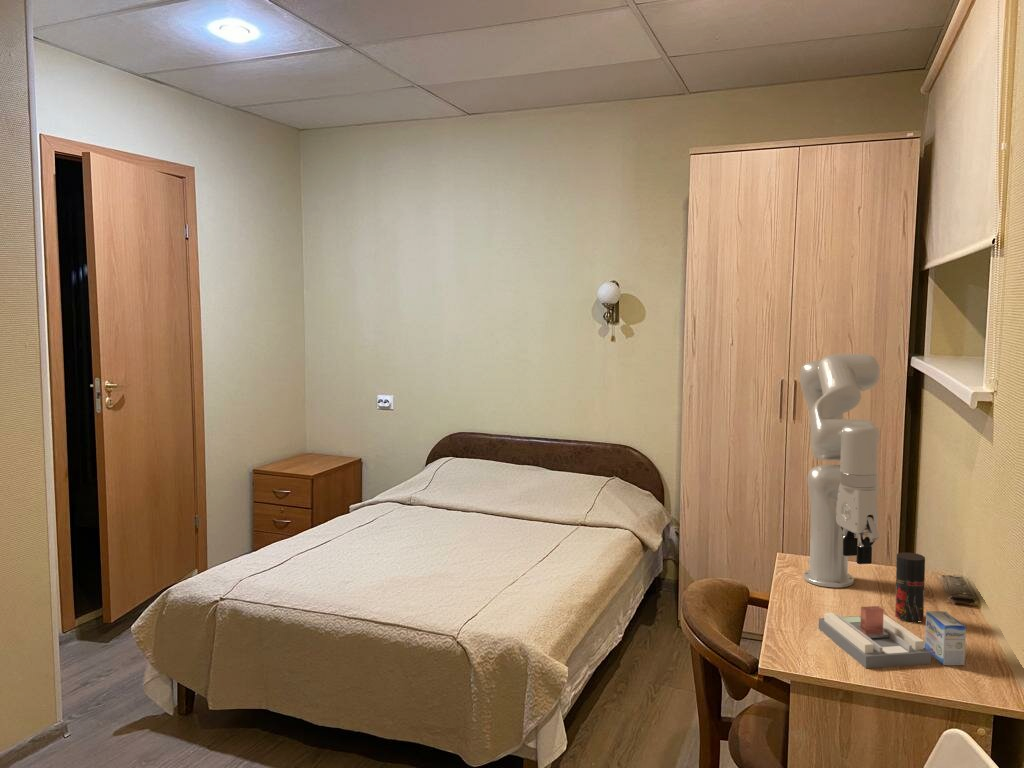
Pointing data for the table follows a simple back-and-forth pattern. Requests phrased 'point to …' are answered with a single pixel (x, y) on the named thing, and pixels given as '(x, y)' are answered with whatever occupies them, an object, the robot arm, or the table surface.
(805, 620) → the table surface
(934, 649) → the medicine box
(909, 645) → the breaker panel
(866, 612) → the lever
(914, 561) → the deodorant
